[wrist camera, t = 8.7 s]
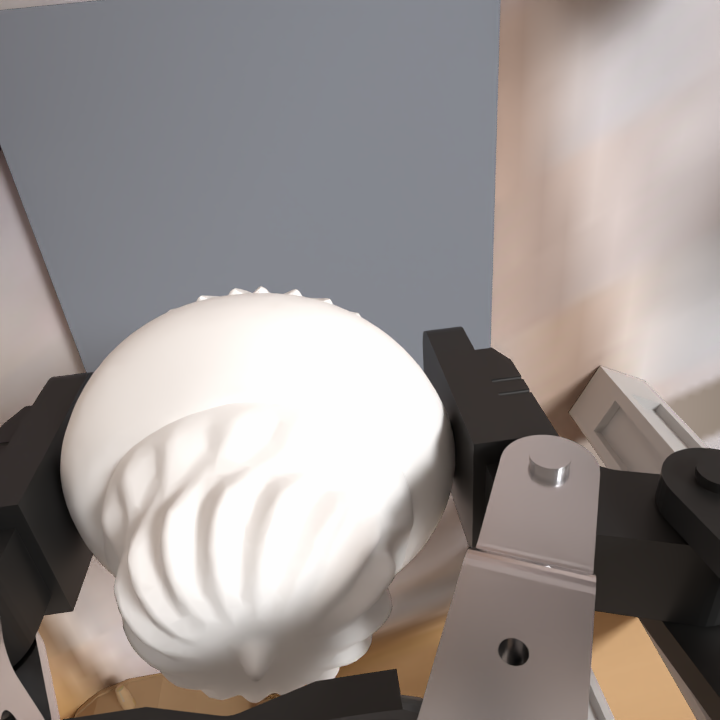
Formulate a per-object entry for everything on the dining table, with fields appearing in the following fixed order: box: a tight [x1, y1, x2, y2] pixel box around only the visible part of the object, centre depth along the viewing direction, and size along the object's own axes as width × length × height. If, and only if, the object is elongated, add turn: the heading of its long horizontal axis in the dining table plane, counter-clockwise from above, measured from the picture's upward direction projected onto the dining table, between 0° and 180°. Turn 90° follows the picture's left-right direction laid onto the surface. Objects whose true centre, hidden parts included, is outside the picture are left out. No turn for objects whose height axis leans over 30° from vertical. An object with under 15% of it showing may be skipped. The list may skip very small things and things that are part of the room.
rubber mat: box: [0, 0, 500, 373], centre depth 19 cm, size 14×14×1 cm
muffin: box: [60, 286, 455, 703], centre depth 10 cm, size 6×6×7 cm
